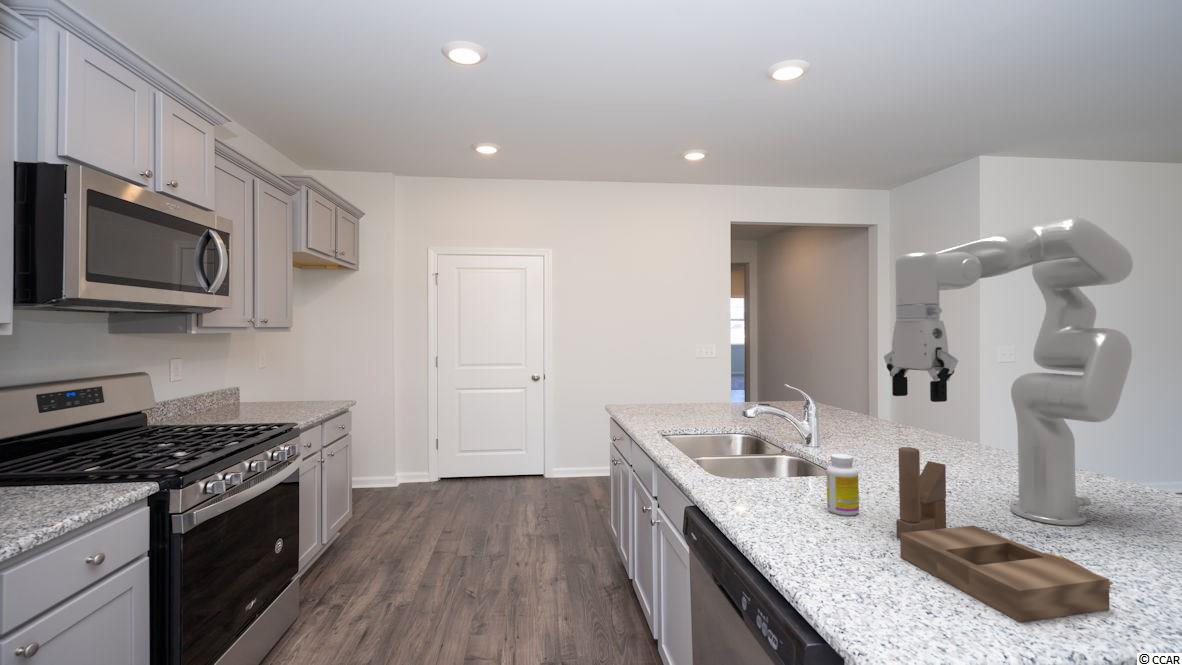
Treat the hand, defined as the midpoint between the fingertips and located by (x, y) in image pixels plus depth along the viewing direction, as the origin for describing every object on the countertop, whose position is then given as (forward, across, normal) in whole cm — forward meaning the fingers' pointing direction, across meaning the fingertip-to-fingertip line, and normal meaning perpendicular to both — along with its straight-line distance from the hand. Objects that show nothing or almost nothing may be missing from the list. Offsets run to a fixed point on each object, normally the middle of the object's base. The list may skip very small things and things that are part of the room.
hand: (918, 398), depth 106 cm
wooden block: (+28, 0, 0) cm, 28 cm away
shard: (+28, -18, -12) cm, 36 cm away
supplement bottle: (+28, +16, +6) cm, 33 cm away
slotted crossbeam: (+28, -19, +4) cm, 34 cm away
